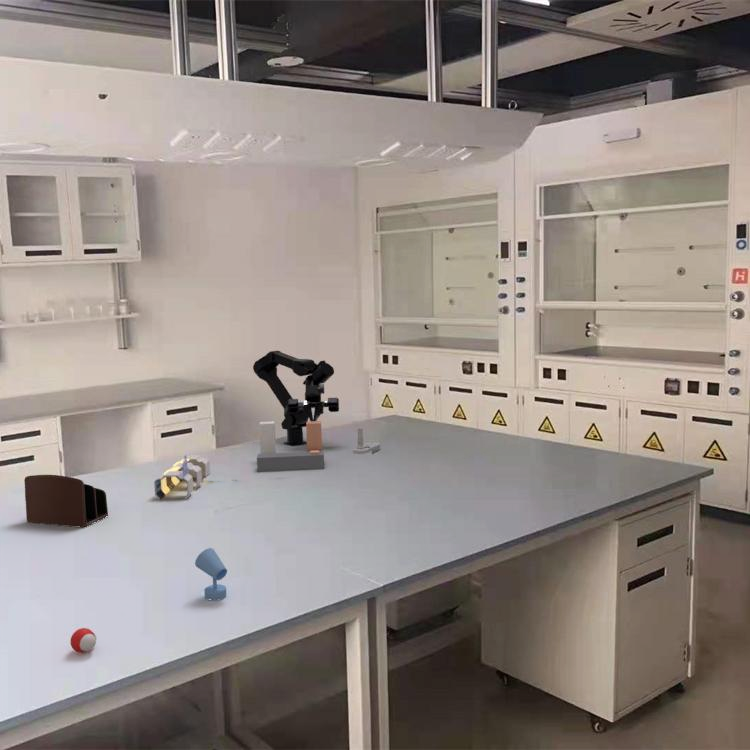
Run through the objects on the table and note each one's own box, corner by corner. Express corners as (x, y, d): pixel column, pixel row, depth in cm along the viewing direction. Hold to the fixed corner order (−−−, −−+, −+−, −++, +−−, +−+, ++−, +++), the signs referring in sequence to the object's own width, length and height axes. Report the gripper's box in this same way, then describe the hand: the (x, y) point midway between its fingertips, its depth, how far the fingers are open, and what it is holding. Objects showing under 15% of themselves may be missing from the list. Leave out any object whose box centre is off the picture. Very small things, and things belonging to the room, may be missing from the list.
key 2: (308, 461, 274) (306, 421, 272) (322, 460, 274) (321, 421, 273) (307, 464, 270) (306, 424, 268) (322, 463, 271) (321, 423, 269)
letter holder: (85, 528, 215) (81, 477, 213) (26, 523, 221) (21, 473, 219) (108, 517, 224) (105, 468, 222) (51, 512, 230) (47, 464, 228)
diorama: (189, 500, 238) (186, 457, 236) (155, 501, 239) (152, 458, 237) (210, 478, 263) (208, 439, 261) (179, 478, 263) (177, 439, 262)
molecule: (66, 652, 145) (64, 630, 144) (90, 642, 148) (88, 620, 148) (82, 660, 141) (80, 638, 141) (106, 649, 145) (104, 627, 145)
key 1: (262, 461, 276) (260, 421, 274) (276, 460, 277) (274, 421, 275) (261, 464, 272) (259, 424, 270) (275, 463, 273) (273, 423, 271)
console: (261, 463, 278) (260, 445, 277) (324, 460, 280) (323, 442, 279) (257, 475, 263) (256, 456, 262) (324, 472, 264) (323, 453, 263)
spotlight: (194, 595, 168) (215, 603, 163) (191, 550, 166) (212, 557, 162) (213, 587, 172) (234, 595, 167) (210, 543, 170) (231, 550, 166)
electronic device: (381, 424, 295) (363, 430, 281) (382, 450, 296) (364, 458, 282) (368, 423, 297) (350, 429, 284) (369, 449, 298) (350, 456, 285)
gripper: (286, 377, 288) (285, 413, 279) (337, 375, 289) (338, 411, 280) (288, 395, 297) (288, 430, 288) (338, 393, 298) (339, 428, 289)
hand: (313, 424), depth 286 cm, fingers closed
